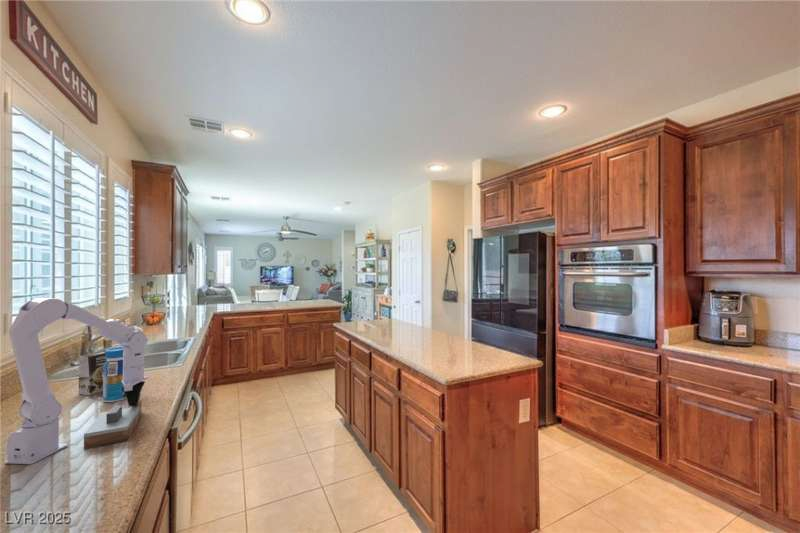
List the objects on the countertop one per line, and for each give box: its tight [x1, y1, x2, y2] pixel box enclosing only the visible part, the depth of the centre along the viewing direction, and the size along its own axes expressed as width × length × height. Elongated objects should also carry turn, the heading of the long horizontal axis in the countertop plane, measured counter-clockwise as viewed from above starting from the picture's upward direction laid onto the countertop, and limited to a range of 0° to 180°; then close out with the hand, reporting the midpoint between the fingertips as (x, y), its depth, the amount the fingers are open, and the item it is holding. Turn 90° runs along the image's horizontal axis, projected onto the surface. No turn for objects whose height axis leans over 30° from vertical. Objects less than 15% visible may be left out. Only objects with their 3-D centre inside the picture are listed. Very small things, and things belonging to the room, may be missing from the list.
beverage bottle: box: [102, 346, 127, 403], centre depth 133 cm, size 8×8×20 cm
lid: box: [83, 405, 140, 438], centre depth 106 cm, size 16×10×5 cm, turn 27°
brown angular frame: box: [83, 399, 143, 450], centre depth 109 cm, size 22×10×4 cm, turn 27°
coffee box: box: [77, 350, 108, 396], centre depth 141 cm, size 9×6×16 cm
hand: (133, 405), depth 114 cm, fingers closed
